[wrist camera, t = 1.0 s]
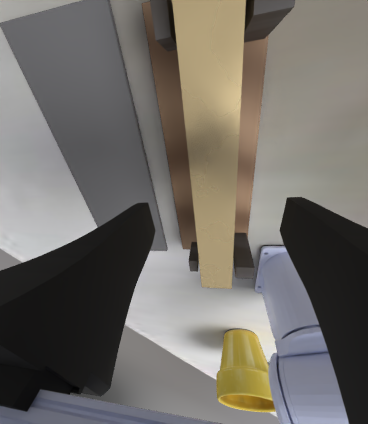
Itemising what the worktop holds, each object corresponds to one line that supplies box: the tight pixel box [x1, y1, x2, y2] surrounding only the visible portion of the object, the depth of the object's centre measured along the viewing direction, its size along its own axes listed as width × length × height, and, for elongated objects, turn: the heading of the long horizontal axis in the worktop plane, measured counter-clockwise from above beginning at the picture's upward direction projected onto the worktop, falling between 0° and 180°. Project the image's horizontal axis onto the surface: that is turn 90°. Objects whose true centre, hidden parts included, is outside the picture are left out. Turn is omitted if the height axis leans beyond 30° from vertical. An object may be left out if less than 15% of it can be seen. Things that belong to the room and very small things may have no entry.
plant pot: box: [217, 329, 276, 412], centre depth 32 cm, size 10×10×10 cm
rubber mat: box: [0, 0, 167, 251], centre depth 19 cm, size 24×9×1 cm, turn 7°
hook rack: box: [142, 0, 295, 279], centre depth 15 cm, size 22×8×6 cm, turn 7°
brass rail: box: [172, 0, 246, 289], centre depth 13 cm, size 22×3×3 cm, turn 7°
